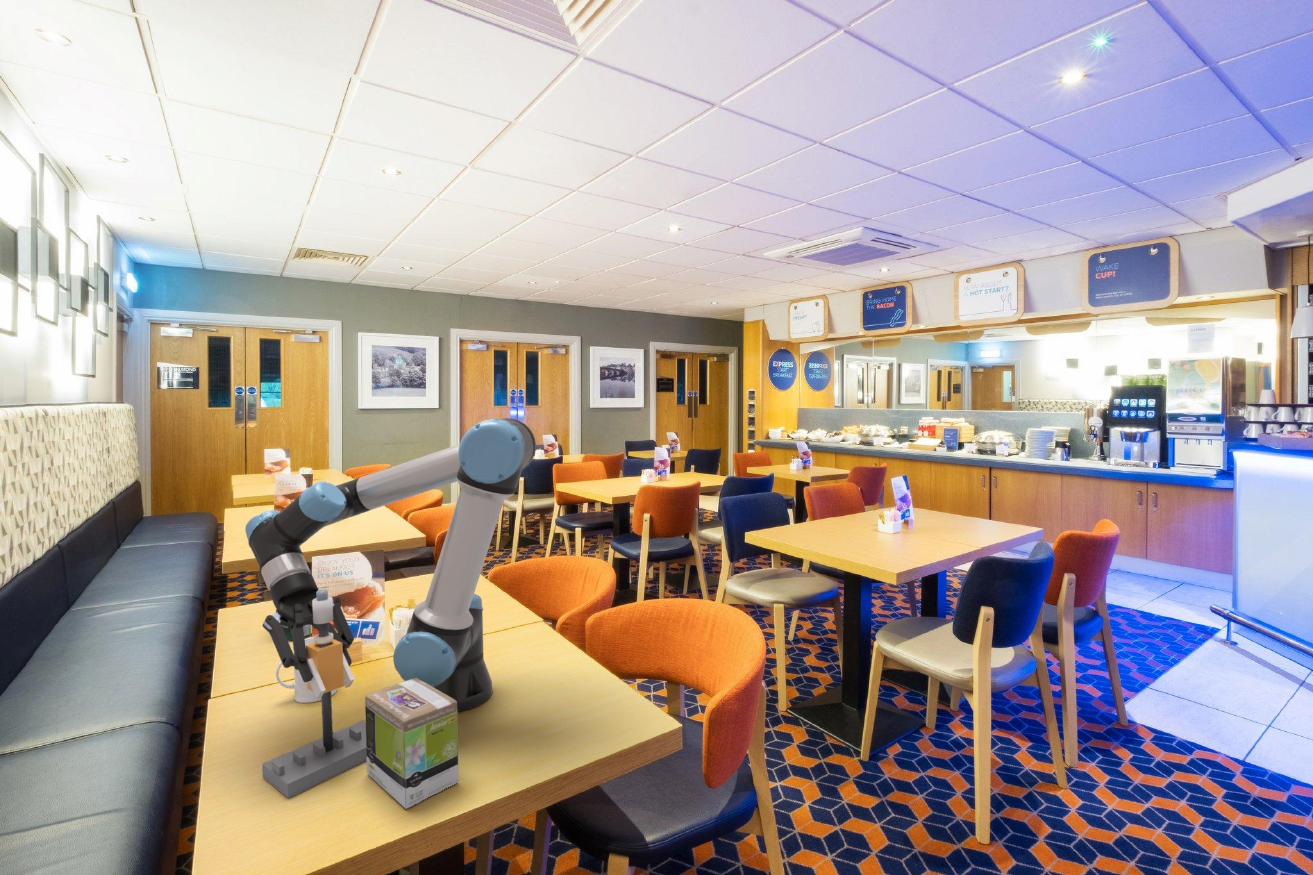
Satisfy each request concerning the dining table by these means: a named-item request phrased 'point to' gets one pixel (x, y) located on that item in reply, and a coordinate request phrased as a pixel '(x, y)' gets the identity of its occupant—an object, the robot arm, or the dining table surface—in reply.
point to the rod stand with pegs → (334, 748)
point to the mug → (300, 683)
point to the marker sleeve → (327, 664)
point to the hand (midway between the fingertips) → (335, 688)
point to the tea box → (411, 740)
